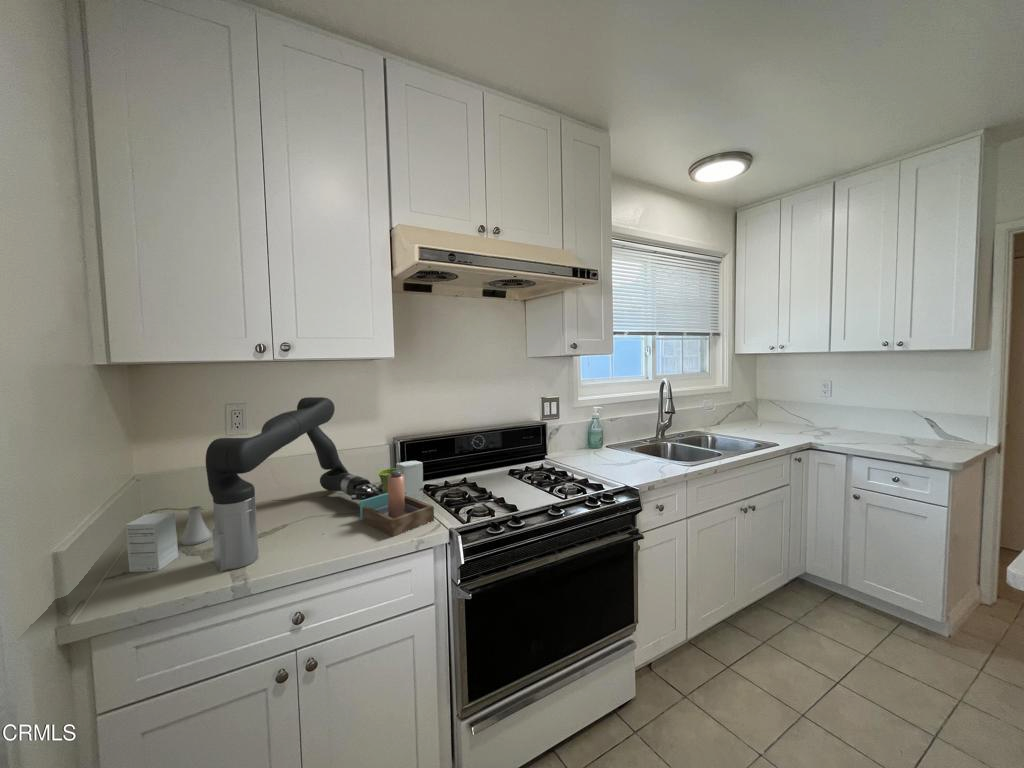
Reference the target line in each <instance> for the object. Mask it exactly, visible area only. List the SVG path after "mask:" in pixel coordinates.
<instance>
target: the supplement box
mask: <svg viewBox="0 0 1024 768" xmlns="http://www.w3.org/2000/svg"><path fill="white" fill-rule="evenodd" d="M124 526H125V536H126V537H125V538H126V539H125V540H126V549H127V550H126V551H127V561H128V570H129V572H130V573H133V572H134V573H135V572H136V573H137V572H158V571H161V570H162V569H163V568H165V567H166V566H168V565H169V564H171V563H173V561H175V560H176V559H177V558H179V550H178V549H179V547H178V537H177V524H176V513H174V512H164V513H162V512H160V513H146V514H144V515H142V516H140V517H139V518H136V519H134V520H133V521H130V522H128V523H126V524H124Z"/></svg>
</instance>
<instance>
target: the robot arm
mask: <svg viewBox="0 0 1024 768" xmlns="http://www.w3.org/2000/svg"><path fill="white" fill-rule="evenodd" d="M334 414H335V404H334V402H333V401H332V400H331V399H330V398H328V397H323V396H322V397H321V396H319V397H318V396H316V397H313V396H312V397H311V396H310V397H303V398H301V399H299V401H298V403H297V406H296V410H289V411H286V412H282V413H280V414H277V415H275V416H274V417H272V418H270V419H267V421H266V422H265V423H264V424H263V426H262V428H261V432H260V433H258V434H257V435H254V436H251V437H250V436H249V437H221V438H216V439H214V440H213V441H211V442H210V443H209V445H208V447H207V449H206V452H205V470H206V476H207V477H206V478H207V483H208V484H207V485H208V490H209V493H210V494H211V496H212V504H213V506H212V507H213V519H214V521H213V522H214V528H212V540H213V541H212V542H213V543H212V544H213V558H214V565H215V566H216V567H217V568H218V569H219V570H220V572H224V571H228V570H229V571H230V570H235V569H240V568H244V567H246V566H248V565H250V564H252V563H255V562H256V561H257V560H258V558H259V545H258V544H259V543H258V541H259V540H258V528H257V527H258V524H257V523H258V522H257V510H256V509H257V507H256V492H255V491H256V490H255V485H254V484H253V483H252V482H249V481H247V480H245V479H243V478H242V477H240V474H242V475H243V474H246V473H250V472H252V471H253V470H255V469H256V468H257V467H258V466H260V465H261V464H262V463H264V462H265V461H266V460H267V459H268V458H269V457H270V456H272V455H273V454H275V453H276V452H278V451H280V450H281V449H282V448H284V447H285V446H287V445H289V444H291V443H292V442H294V441H296V440H297V439H298V438H300V437H301V436H302V435H304V434H306V435H307V436H308V438H309V441H310V442H311V443H312V446H313V448H314V450H315V453H316V456H317V460H318V462H319V466H320V468H321V469H322V470H324V471H326V472H323V474H321V475H320V477H319V484H320V486H321V487H322V488H323V489H325V490H326V491H329V492H343V493H344V494H346V495H347V496H350V497H351V501H352V500H354V501H356V500H358V501H361V500H365V499H368V498H372V497H375V496H378V495H382V494H383V491H384V487H383V484H381V483H380V484H378V486H377V485H376V484H372V483H371V481H369V479H367V478H364V477H363V476H359V475H356V474H353V473H352V474H351V473H349V471H348V470H347V468H346V467H345V466H344V464H343V463H342V461H341V459H340V458H339V454H338V449H337V447H336V444H335V443H334V441H332V439H331V438H330V437H329V436H328V435H327V434H326V433H325V432H324V431H323V430H322V429H321V427H320V426H321V425H324V424H326V423H328V422H329V421H331V419H332V418H333V416H334ZM238 474H239V475H238Z"/></svg>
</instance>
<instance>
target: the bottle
mask: <svg viewBox="0 0 1024 768" xmlns="http://www.w3.org/2000/svg"><path fill="white" fill-rule="evenodd" d="M402 515H405V500H404V475H403V474H401V471H399V470H395V471H391V475H389V476H388V516H390V517H392V518H397V517H400V516H402Z"/></svg>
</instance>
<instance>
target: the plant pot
mask: <svg viewBox="0 0 1024 768" xmlns="http://www.w3.org/2000/svg"><path fill="white" fill-rule="evenodd" d="M395 470H396V467H395V468H385V469H381V470H379V471H378V472H377V474H378V476H379V478H380V482H381V483H380V484H383V487H384V491H383V493H384V494H385V493H388V476H389V475H391V471H395Z"/></svg>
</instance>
